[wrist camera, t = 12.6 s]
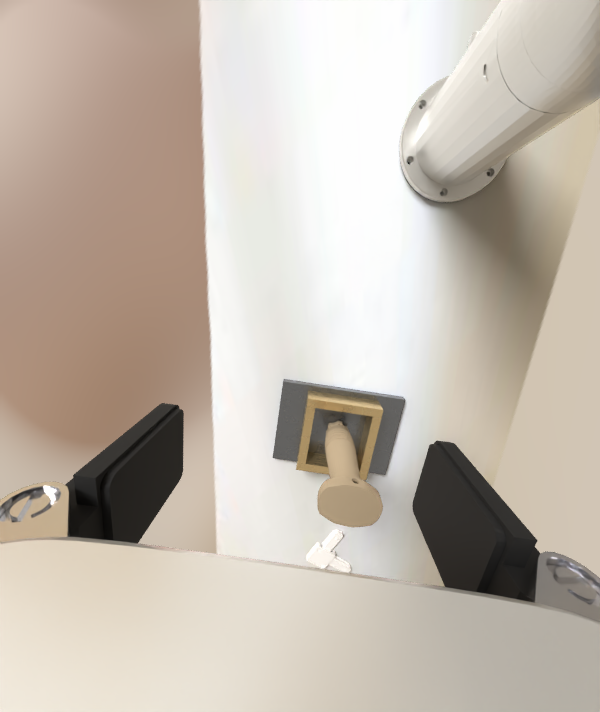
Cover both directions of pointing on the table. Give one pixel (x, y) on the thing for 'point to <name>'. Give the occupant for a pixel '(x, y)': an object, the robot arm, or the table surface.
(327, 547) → the corner connector
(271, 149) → the table surface
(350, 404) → the collar base
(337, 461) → the handle
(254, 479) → the table surface
